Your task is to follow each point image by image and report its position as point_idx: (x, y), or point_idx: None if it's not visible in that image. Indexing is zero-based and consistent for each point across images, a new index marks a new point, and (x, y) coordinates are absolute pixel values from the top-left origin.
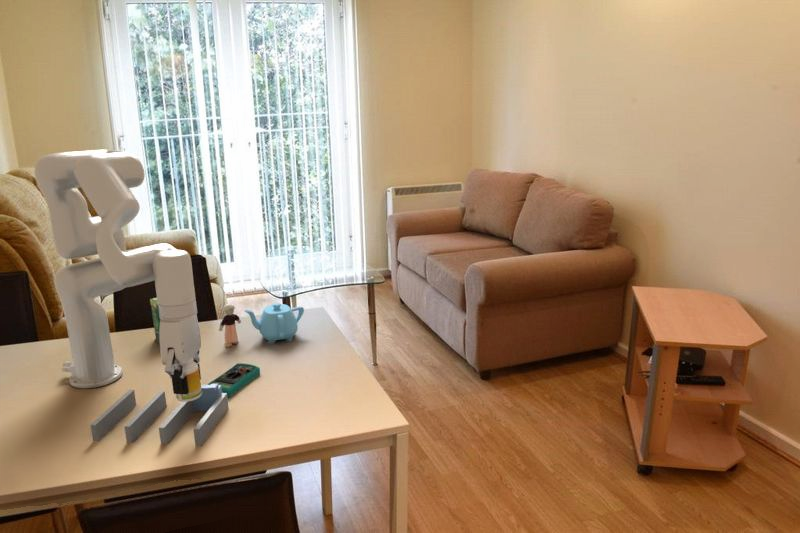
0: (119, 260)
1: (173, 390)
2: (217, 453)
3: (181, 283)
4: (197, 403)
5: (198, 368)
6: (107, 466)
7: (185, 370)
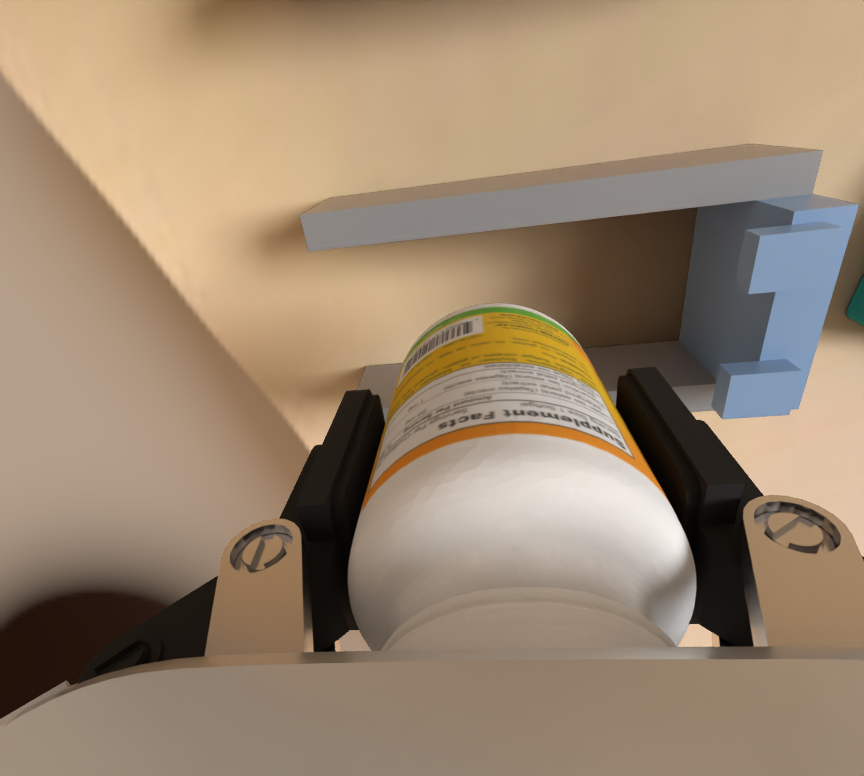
0: None
1: (339, 406)
2: None
3: None
4: (719, 218)
5: None
6: (53, 15)
7: None
